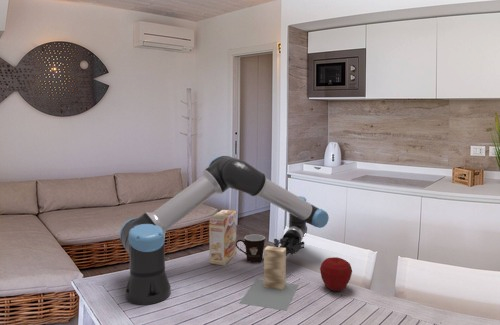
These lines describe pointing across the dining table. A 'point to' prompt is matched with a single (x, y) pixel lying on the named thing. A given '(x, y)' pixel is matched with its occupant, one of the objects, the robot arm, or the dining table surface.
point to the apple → (335, 273)
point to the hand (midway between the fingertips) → (279, 257)
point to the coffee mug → (253, 247)
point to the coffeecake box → (222, 236)
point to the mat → (269, 296)
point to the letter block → (274, 267)
